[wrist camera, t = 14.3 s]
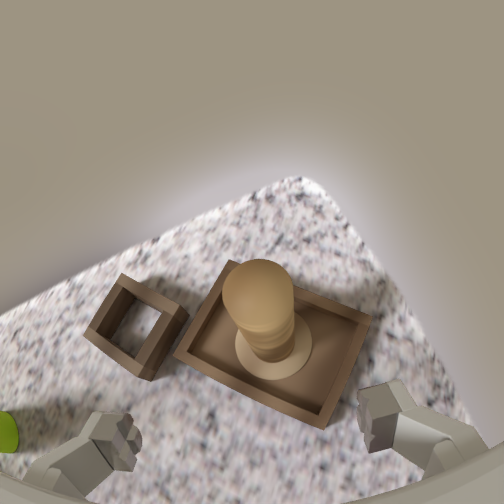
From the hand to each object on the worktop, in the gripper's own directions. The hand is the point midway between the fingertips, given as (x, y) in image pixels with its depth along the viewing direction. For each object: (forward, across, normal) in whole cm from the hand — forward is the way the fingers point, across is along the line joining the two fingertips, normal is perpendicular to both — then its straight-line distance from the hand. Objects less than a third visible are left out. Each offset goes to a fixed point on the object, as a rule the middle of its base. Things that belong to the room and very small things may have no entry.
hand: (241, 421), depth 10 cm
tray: (+18, -1, +8) cm, 19 cm away
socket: (+20, +13, +6) cm, 24 cm away
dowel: (+17, -1, +7) cm, 19 cm away
